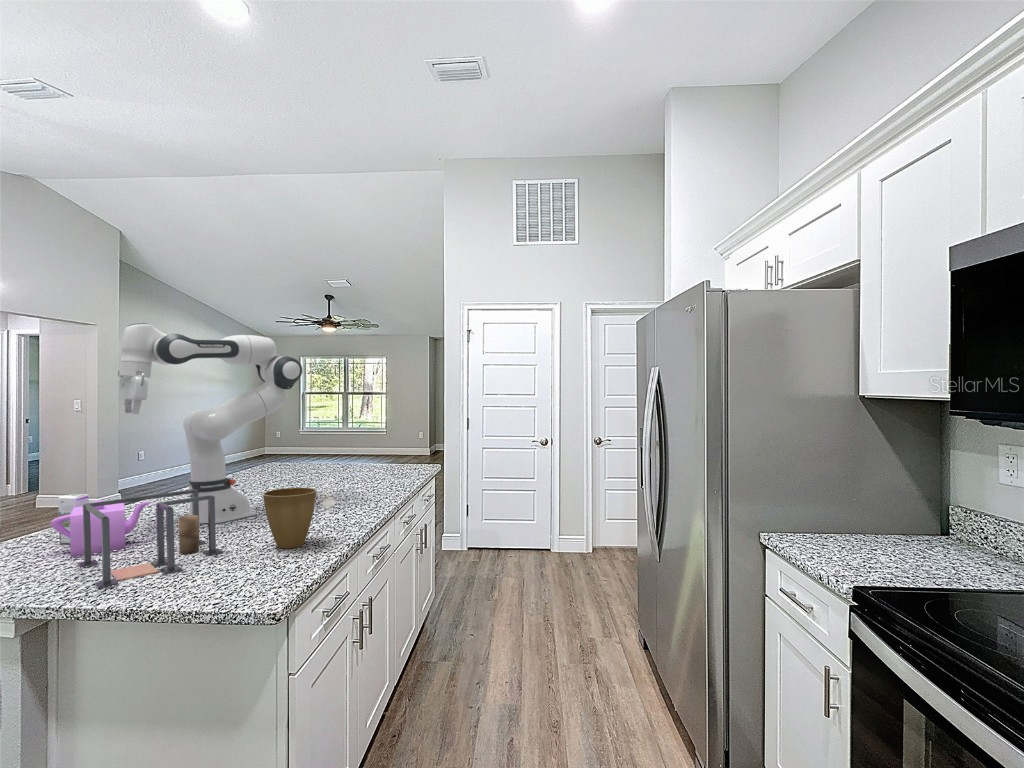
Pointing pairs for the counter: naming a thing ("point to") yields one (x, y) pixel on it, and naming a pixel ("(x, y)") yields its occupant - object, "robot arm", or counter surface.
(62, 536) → the syrup box
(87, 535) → the dark grey bar frame
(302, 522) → the plant pot
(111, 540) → the teapot
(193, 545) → the walnut cylinder
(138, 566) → the tile
